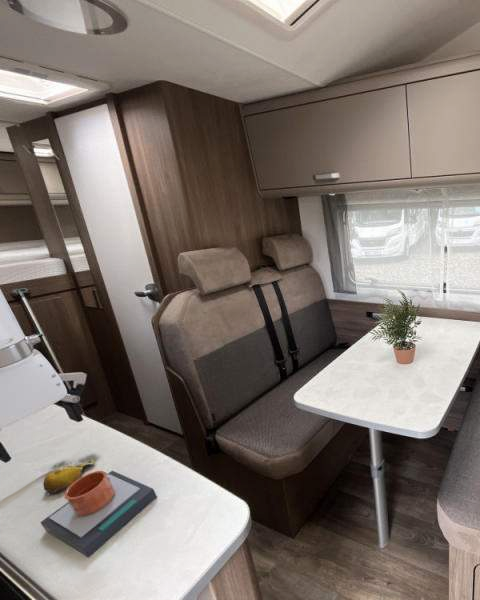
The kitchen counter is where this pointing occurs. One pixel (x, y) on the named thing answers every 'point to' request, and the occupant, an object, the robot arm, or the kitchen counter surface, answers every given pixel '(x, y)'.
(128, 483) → the scale
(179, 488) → the kitchen counter surface
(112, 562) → the kitchen counter surface
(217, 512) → the kitchen counter surface
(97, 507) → the bowl
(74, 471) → the fruit
